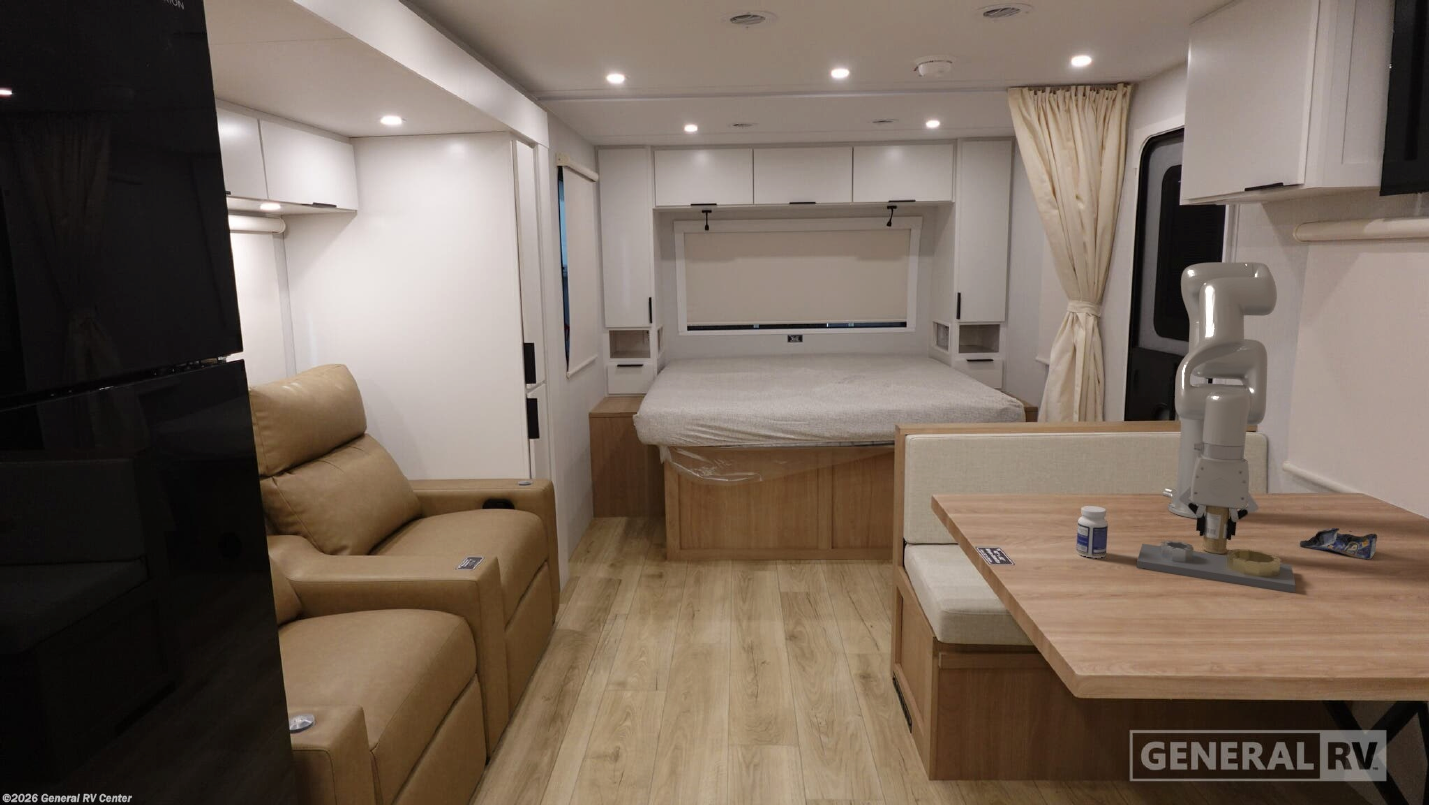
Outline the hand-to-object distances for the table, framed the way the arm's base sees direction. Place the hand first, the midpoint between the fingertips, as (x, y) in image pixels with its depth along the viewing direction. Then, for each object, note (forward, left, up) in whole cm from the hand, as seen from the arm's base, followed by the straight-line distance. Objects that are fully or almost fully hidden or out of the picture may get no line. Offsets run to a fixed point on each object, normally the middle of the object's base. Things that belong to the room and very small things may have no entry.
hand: (1215, 535), depth 174 cm
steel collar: (+2, -14, -2) cm, 15 cm away
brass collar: (+13, -7, -2) cm, 15 cm away
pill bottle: (-10, -25, -4) cm, 27 cm away
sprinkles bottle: (0, 0, -4) cm, 4 cm away
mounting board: (+7, -11, -3) cm, 13 cm away
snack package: (+11, +23, -4) cm, 26 cm away
